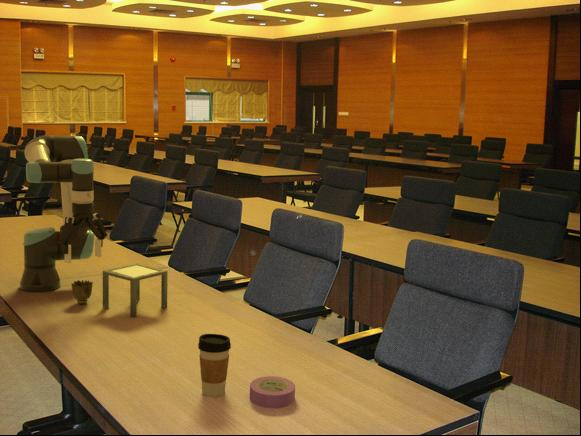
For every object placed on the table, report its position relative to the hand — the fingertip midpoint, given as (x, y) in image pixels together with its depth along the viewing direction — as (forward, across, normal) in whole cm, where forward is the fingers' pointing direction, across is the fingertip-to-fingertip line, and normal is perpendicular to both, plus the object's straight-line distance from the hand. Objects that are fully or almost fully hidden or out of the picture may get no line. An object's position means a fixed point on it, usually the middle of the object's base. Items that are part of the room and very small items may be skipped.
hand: (83, 259), depth 248 cm
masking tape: (+16, -22, -102) cm, 106 cm away
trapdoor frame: (+16, +8, -19) cm, 26 cm away
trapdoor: (+4, +8, -19) cm, 21 cm away
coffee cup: (+16, -29, -88) cm, 94 cm away
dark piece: (+17, -1, 0) cm, 17 cm away
